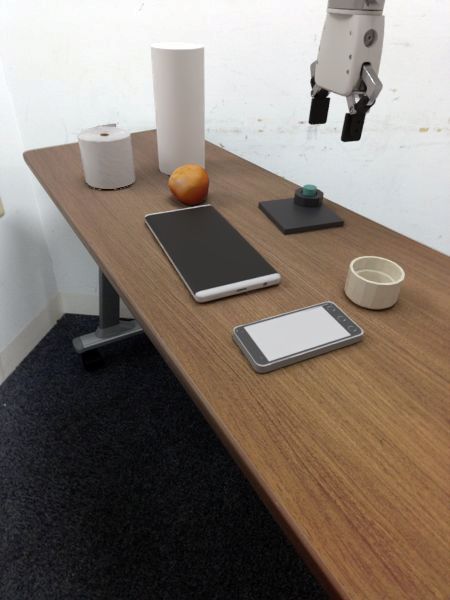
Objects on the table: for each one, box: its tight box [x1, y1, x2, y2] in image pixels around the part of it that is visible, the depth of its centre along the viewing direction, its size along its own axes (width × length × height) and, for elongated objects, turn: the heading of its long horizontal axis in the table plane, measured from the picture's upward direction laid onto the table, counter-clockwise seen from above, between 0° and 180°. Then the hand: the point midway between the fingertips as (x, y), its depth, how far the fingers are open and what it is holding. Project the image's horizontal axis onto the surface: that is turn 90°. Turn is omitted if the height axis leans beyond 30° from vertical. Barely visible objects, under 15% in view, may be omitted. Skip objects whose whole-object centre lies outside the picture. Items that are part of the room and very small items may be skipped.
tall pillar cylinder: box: [150, 41, 206, 176], centre depth 93 cm, size 11×11×25 cm
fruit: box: [168, 164, 210, 206], centre depth 84 cm, size 8×8×8 cm
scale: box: [257, 187, 345, 236], centre depth 80 cm, size 12×12×3 cm
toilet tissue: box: [76, 122, 137, 188], centre depth 90 cm, size 11×12×10 cm
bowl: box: [344, 255, 406, 310], centre depth 59 cm, size 7×7×4 cm
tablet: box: [144, 204, 282, 303], centre depth 69 cm, size 13×27×2 cm, turn 24°
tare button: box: [302, 184, 318, 196], centre depth 82 cm, size 3×3×2 cm
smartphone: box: [232, 300, 364, 374], centre depth 53 cm, size 7×1×15 cm
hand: (332, 131), depth 68 cm, fingers open, 9 cm apart
